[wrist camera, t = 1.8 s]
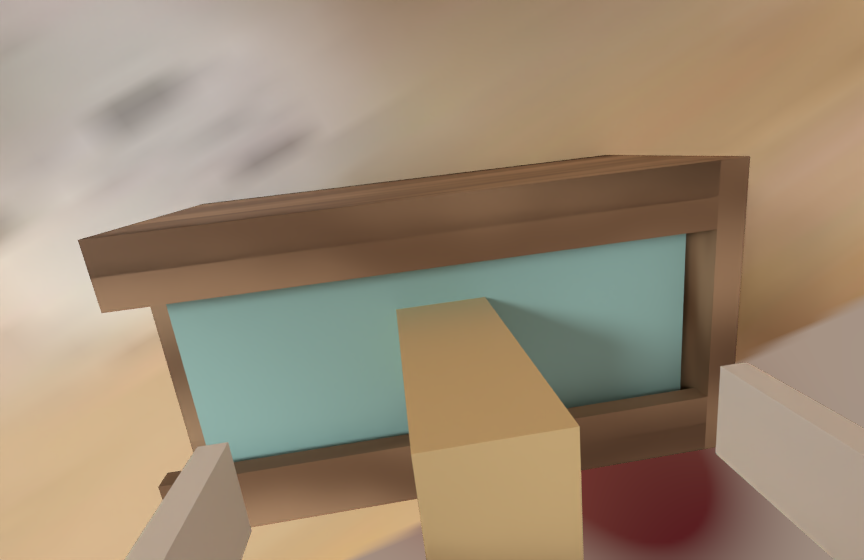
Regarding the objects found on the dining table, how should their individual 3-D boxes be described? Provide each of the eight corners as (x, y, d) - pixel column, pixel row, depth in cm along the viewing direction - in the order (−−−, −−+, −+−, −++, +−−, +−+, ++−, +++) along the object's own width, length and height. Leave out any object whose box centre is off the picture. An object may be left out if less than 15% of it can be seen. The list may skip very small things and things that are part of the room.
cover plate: (178, 263, 18) (-82, 406, 8) (660, 201, 20) (966, 253, 9) (228, 449, 21) (77, 746, 10) (656, 381, 22) (898, 581, 12)
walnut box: (203, 204, 25) (77, 240, 15) (606, 155, 27) (750, 156, 17) (250, 398, 29) (175, 540, 18) (607, 343, 30) (729, 444, 20)
